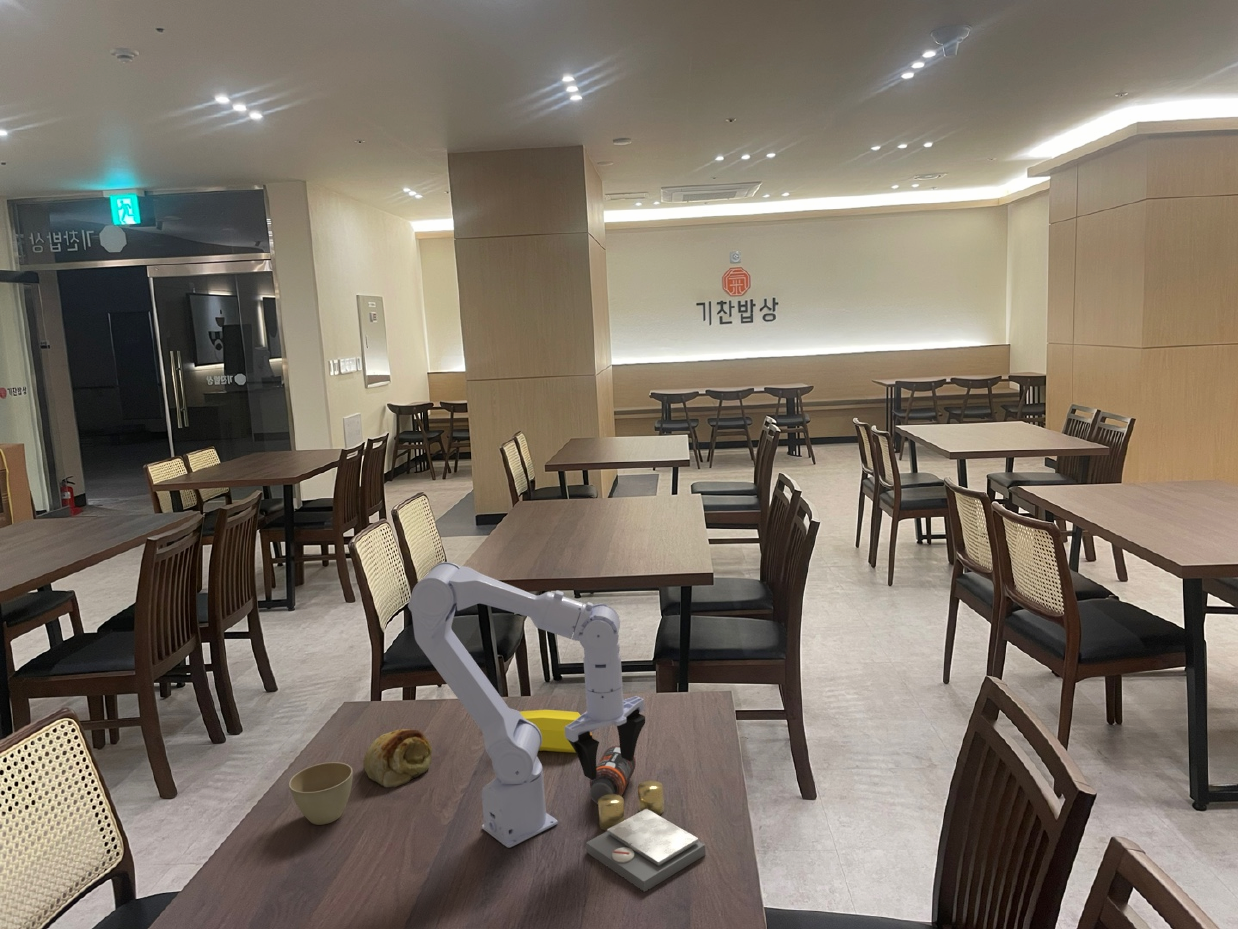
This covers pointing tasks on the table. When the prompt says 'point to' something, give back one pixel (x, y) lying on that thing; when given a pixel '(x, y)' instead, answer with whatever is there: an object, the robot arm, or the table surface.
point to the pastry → (398, 757)
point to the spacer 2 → (651, 797)
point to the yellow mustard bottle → (552, 728)
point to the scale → (639, 861)
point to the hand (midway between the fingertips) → (609, 767)
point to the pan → (652, 836)
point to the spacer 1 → (610, 811)
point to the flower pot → (322, 791)
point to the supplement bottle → (611, 774)
